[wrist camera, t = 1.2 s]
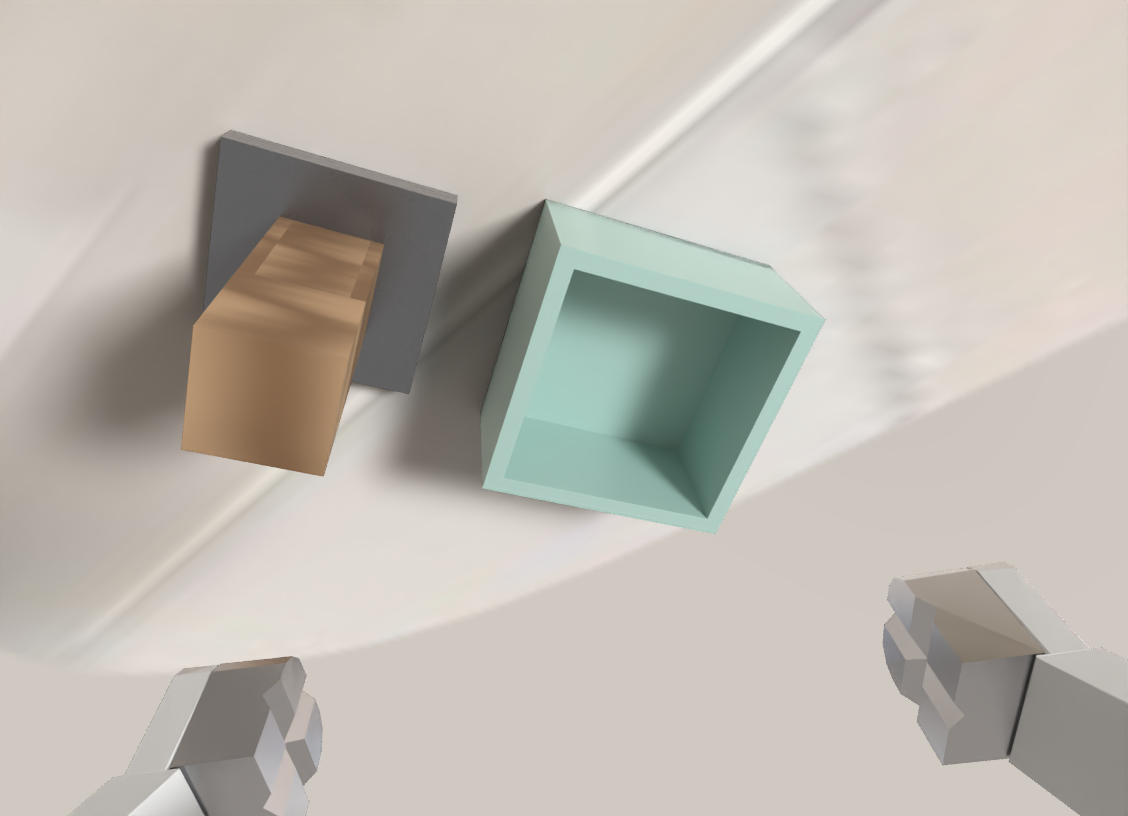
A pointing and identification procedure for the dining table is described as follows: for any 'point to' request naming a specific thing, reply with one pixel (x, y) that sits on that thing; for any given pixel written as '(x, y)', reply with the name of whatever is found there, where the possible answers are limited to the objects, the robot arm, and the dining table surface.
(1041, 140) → the dining table surface
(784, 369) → the sage bin
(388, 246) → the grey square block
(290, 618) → the dining table surface
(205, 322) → the walnut strut
